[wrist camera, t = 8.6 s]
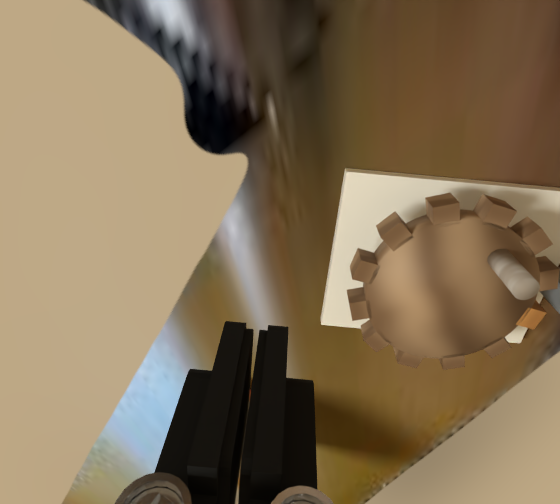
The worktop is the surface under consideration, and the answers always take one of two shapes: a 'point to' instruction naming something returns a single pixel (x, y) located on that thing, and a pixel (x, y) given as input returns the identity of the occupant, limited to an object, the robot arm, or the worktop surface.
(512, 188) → the stand
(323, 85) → the worktop surface
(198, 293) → the worktop surface
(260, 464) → the robot arm
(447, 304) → the sprocket
